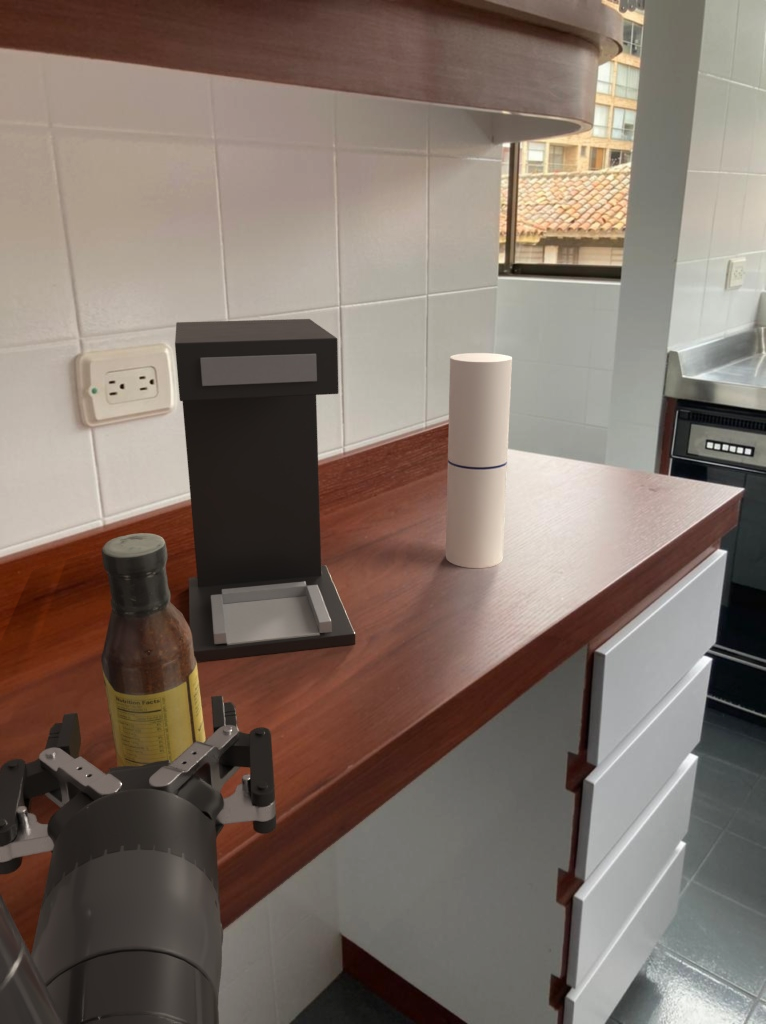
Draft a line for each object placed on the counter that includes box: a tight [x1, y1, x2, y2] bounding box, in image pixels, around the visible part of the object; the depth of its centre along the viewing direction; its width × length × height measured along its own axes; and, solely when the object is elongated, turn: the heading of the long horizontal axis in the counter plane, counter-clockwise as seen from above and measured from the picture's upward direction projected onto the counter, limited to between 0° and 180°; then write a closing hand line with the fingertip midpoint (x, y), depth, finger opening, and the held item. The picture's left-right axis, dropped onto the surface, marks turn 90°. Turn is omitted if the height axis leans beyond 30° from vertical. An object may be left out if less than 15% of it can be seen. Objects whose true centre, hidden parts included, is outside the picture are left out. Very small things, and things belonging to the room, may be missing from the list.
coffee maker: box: [174, 318, 356, 663], centre depth 83 cm, size 16×18×30 cm
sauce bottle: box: [100, 532, 207, 767], centre depth 57 cm, size 6×6×20 cm
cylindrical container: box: [445, 352, 513, 569], centre depth 99 cm, size 7×7×25 cm
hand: (146, 717), depth 50 cm, fingers open, 8 cm apart
